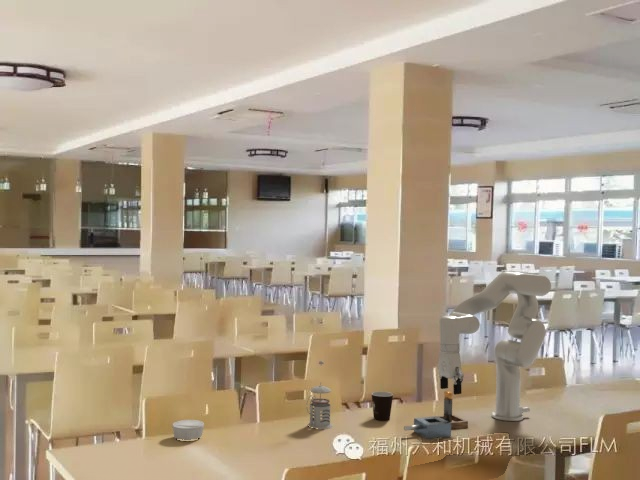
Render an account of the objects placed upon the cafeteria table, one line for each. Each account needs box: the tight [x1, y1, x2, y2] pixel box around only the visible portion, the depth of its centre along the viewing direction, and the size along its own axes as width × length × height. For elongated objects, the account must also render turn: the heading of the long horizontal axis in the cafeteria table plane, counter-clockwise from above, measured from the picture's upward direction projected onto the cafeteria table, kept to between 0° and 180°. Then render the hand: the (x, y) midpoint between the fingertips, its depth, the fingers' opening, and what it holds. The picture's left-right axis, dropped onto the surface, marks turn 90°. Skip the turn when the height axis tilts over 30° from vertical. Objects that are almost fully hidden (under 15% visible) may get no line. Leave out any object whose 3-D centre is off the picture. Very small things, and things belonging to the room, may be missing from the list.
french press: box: [306, 360, 333, 430], centre depth 271 cm, size 10×12×25 cm
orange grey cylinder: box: [443, 390, 454, 422], centre depth 277 cm, size 3×3×12 cm
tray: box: [438, 414, 469, 430], centre depth 277 cm, size 12×10×2 cm
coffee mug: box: [371, 391, 394, 422], centre depth 285 cm, size 12×9×10 cm
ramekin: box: [171, 419, 205, 440], centre depth 253 cm, size 11×11×5 cm
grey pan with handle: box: [403, 415, 452, 440], centre depth 263 cm, size 16×10×5 cm, turn 111°
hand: (450, 391), depth 277 cm, fingers open, 9 cm apart
